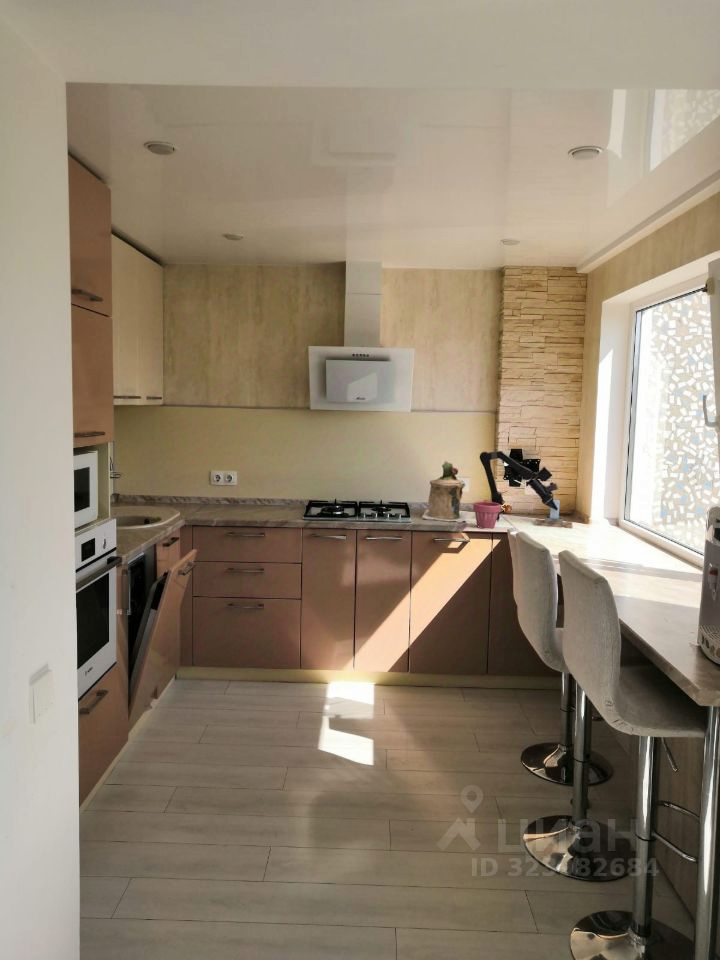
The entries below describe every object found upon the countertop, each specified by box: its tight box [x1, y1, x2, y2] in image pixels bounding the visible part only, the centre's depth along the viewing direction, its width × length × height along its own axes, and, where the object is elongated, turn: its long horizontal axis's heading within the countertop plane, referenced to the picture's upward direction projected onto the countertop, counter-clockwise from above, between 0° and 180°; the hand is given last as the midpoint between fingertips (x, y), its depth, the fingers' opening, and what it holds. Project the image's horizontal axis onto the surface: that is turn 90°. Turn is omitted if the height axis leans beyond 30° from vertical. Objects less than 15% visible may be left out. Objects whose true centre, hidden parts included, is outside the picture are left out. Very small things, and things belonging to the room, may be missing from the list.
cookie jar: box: [421, 461, 468, 522], centre depth 420 cm, size 25×25×32 cm
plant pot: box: [472, 501, 501, 529], centre depth 397 cm, size 14×14×13 cm
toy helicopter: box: [482, 490, 513, 514], centre depth 446 cm, size 8×21×14 cm, turn 122°
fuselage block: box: [549, 499, 561, 519], centre depth 414 cm, size 5×5×12 cm
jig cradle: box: [534, 514, 573, 529], centre depth 415 cm, size 20×13×4 cm, turn 76°
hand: (557, 508), depth 414 cm, fingers open, 9 cm apart
